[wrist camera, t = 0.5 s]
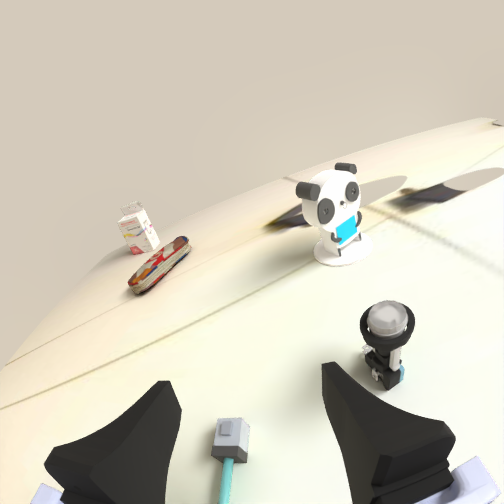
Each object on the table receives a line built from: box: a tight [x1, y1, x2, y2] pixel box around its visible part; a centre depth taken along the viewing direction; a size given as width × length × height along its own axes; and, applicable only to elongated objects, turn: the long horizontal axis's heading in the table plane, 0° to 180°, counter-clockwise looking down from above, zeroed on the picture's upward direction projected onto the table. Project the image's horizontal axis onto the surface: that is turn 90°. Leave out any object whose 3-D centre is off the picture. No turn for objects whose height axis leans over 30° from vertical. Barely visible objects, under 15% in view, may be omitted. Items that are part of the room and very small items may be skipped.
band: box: [211, 446, 247, 463], centre depth 23 cm, size 1×3×3 cm, turn 86°
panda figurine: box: [296, 163, 372, 266], centre depth 47 cm, size 12×11×15 cm
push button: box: [360, 300, 415, 390], centre depth 26 cm, size 7×5×10 cm
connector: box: [214, 418, 250, 453], centre depth 25 cm, size 4×3×3 cm
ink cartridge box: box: [117, 201, 160, 255], centre depth 79 cm, size 9×5×15 cm, turn 80°
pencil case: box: [128, 236, 191, 294], centre depth 65 cm, size 11×20×5 cm, turn 137°
